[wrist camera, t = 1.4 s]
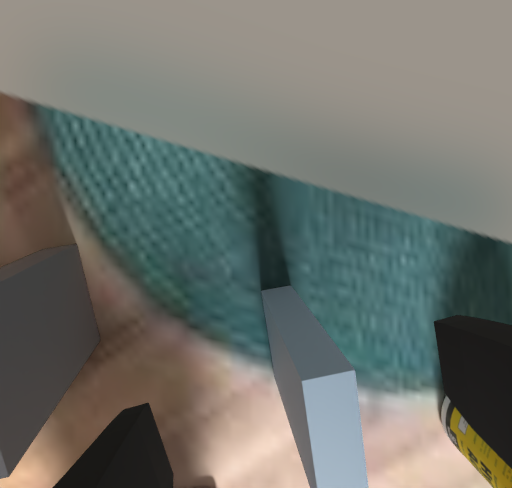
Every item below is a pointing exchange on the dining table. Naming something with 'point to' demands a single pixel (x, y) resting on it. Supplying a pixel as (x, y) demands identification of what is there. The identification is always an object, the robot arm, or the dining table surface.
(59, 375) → the domino
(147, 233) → the dining table surface
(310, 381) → the slate domino
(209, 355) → the dining table surface
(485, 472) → the supplement bottle
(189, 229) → the dining table surface
